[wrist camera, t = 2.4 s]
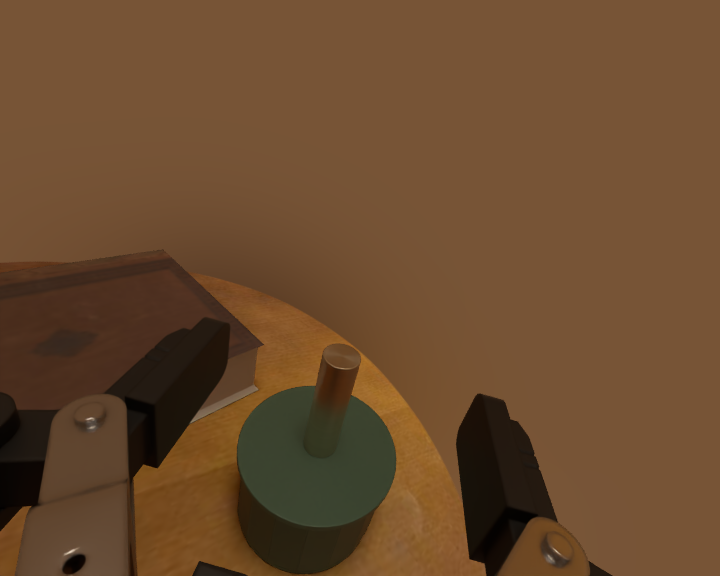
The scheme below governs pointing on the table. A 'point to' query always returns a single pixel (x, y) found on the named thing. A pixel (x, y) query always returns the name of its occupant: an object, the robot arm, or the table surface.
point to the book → (105, 328)
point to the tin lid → (318, 450)
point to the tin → (295, 540)
